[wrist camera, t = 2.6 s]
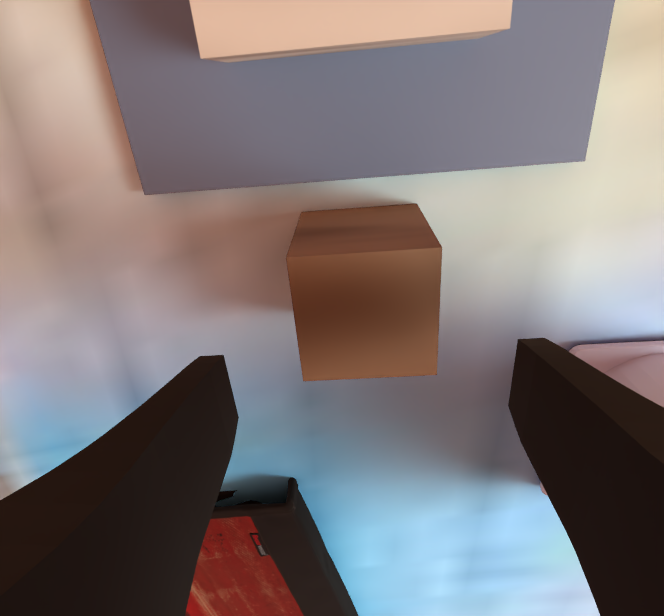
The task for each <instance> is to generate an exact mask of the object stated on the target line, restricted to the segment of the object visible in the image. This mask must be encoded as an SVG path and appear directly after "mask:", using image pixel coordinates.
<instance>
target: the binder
mask: <svg viewBox="0 0 664 616" xmlns="http://www.w3.org/2000/svg"><path fill="white" fill-rule="evenodd" d="M236 491H237V490H236ZM234 493H235V491H222V492H219V495H218V498H217V501H216V502H218V501H220V500H223V499H226V498H229V497H232V496H233V495H234ZM185 616H358V614H357V611H356V609H355V607H354V605H353V602H352V600H351V598H350V596H349V594H348V591H347V589H346V587H345V585H344V583H343V581H342V579H341V577H340V575H339V573H338V571H337V569H336V567H335V565H334V562H333V561H332V559H331V557H330V555H329V553H328V551H327V549H326V547H325V544H324V542H323V540H322V537H321V535H320V533H319V531H318V528H317V526H316V524H315V522H314V520H313V518H312V516H311V514H310V512H309V510H308V508H307V506H306V504H305V501H304V500H303V497H302V495H301V494H300V492H299V490H298V484H297V481H296V479H295V478H289V480H288V492H287V498H286V503H271V504H262V503H260V502H257V501H252V500H250V501H245V502H243V503H240V504H237V505H233V506H224V507H214V510H213V513H212V516H211V519H210V522H209V525H208V528H207V531H206V534H205V537H204V540H203V543H202V547H201V550H200V554H199V557H198V561H197V565H196V569H195V574H194V578H193V582H192V587H191V591H190V595H189V600H188V604H187V609H186V614H185Z"/></svg>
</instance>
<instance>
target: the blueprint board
mask: <svg viewBox="0 0 664 616" xmlns="http://www.w3.org/2000/svg"><path fill="white" fill-rule="evenodd" d="M89 1H90V4H91V8H92V11H93V15H94V18H95V22H96V25H97V29H98V32H99V36H100V39H101V43H102V46H103V50H104V53H105V57H106V60H107V64H108V68H109V71H110V75H111V78H112V82H113V85H114V89H115V92H116V96H117V99H118V103H119V106H120V110H121V113H122V117H123V120H124V124H125V127H126V131H127V134H128V138H129V142H130V145H131V149H132V152H133V156H134V159H135V163H136V166H137V170H138V173H139V177H140V180H141V184H142V187H143V191H144V194H145V195H150V194H163V193H176V192H189V191H202V190H215V189H228V188H241V187H254V186H267V185H280V184H293V183H306V182H319V181H332V180H345V179H358V178H371V177H384V176H397V175H410V174H423V173H436V172H449V171H462V170H475V169H488V168H501V167H514V166H527V165H540V164H553V163H566V162H579V161H585V158H586V152H587V147H588V142H589V136H590V131H591V125H592V120H593V115H594V109H595V104H596V99H597V93H598V88H599V82H600V77H601V72H602V66H603V61H604V56H605V50H606V45H607V40H608V34H609V29H610V23H611V18H612V13H613V7H614V2H615V0H89Z"/></svg>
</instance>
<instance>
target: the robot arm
mask: <svg viewBox="0 0 664 616" xmlns="http://www.w3.org/2000/svg"><path fill="white" fill-rule="evenodd" d="M508 406H509V409H510V412H511V415H512V418H513V421H514V424H515V427H516V430H517V432H518V435H519V438H520V441H521V443H522V445H523V447H524V449H525V451H526V453H527V455H528V457H529V459H530V461H531V463H532V465H533V467H534V469H535V471H536V473H537V475H538V477H539V479H540V481H541V482H540V488H541V490H542V492H543V493H544V494H545V495H548V497H549V499H550V501H551V503H552V505H553V507H554V508H555V510H556V512H557V514H558V516H559V518H560V520H561V522H562V524H563V526H564V528H565V530H566V532H567V534H568V536H569V539H570V541H571V543H572V545H573V547H574V549H575V552H576V554H577V556H578V559H579V561H580V564H581V567H582V569H583V572H584V574H585V577H586V579H587V582H588V584H589V587H590V589H591V592H592V594H593V597H594V599H595V602H596V605H597V608H598V610H599V613H600V616H664V341H645V342H625V343H605V344H586V345H577V346H575V347H573V348H572V349H571V350H570V351H569V352H568V351H567V350H565V349H563V348H562V347H560V346H558V345H556V344H555V343H553V342H551V341H549V340H547V339H545V338H534V339H518V343H517V350H516V357H515V363H514V370H513V377H512V384H511V391H510V398H509V405H508ZM238 418H239V417H238V413H237V409H236V405H235V401H234V397H233V392H232V388H231V384H230V380H229V376H228V372H227V368H226V363H225V359H224V355H215V356H200V357H198V358H197V359H196V360H194V361H193V362H192V363H190V364H189V365H188V366H187V367H186V368H184V369H183V370H182V371H181V372H180V373H179V374H177V375H176V376H175V377H174V378H173V379H172V380H171V381H169V382H168V383H167V384H166V385H165V386H164V387H162V388H161V389H160V390H159V391H158V392H156V393H155V394H154V395H153V396H152V397H151V398H149V399H148V400H147V401H146V402H145V403H143V404H142V405H141V406H140V407H139V408H137V409H136V410H135V411H133V412H132V413H131V414H130V415H128V416H127V417H126V418H125V419H123V420H122V421H121V422H119V423H118V424H117V425H116V426H114V427H113V428H112V429H110V430H109V431H108V432H107V433H105V434H104V435H103V436H101V437H100V438H99V439H97V440H96V441H94V442H93V443H92V444H90V445H89V446H87V447H86V448H84V449H83V450H82V451H80V452H79V453H77V454H76V455H74V456H73V457H71V458H70V459H68V460H67V461H65V462H64V463H62V464H61V465H59V466H57V467H56V468H54V469H53V470H51V471H50V472H48V473H46V474H45V475H43V476H41V477H40V478H38V479H36V480H34V481H33V482H31V483H29V484H28V485H26V486H24V487H23V488H21V489H19V490H17V491H16V492H14V493H12V494H11V495H9V496H7V497H5V498H4V499H2V500H0V616H185V614H186V609H187V604H188V600H189V595H190V591H191V587H192V582H193V578H194V574H195V569H196V565H197V561H198V557H199V554H200V550H201V547H202V543H203V540H204V537H205V534H206V531H207V528H208V525H209V522H210V519H211V516H212V513H213V510H214V507H215V504H216V501H217V498H218V495H219V492H220V489H221V486H222V483H223V480H224V477H225V474H226V470H227V467H228V464H229V461H230V458H231V455H232V450H233V445H234V440H235V435H236V429H237V424H238Z"/></svg>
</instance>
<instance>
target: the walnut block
mask: <svg viewBox="0 0 664 616" xmlns="http://www.w3.org/2000/svg"><path fill="white" fill-rule="evenodd" d="M286 260H287V268H288V275H289V282H290V289H291V296H292V304H293V311H294V318H295V325H296V332H297V339H298V347H299V354H300V361H301V368H302V375H303V381H317V380H338V379H360V378H381V377H403V376H424V375H437V357H438V333H439V308H440V284H441V260H442V247H441V245H440V243H439V241H438V240H437V238H436V236H435V234H434V233H433V231H432V229H431V227H430V226H429V224H428V222H427V220H426V219H425V217H424V215H423V213H422V212H421V210H420V208H419V206H418V205H417V204H405V205H392V206H378V207H364V208H350V209H336V210H322V211H308V212H302V213H301V216H300V218H299V221H298V224H297V227H296V230H295V233H294V236H293V239H292V242H291V245H290V248H289V251H288V254H287V257H286Z"/></svg>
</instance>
